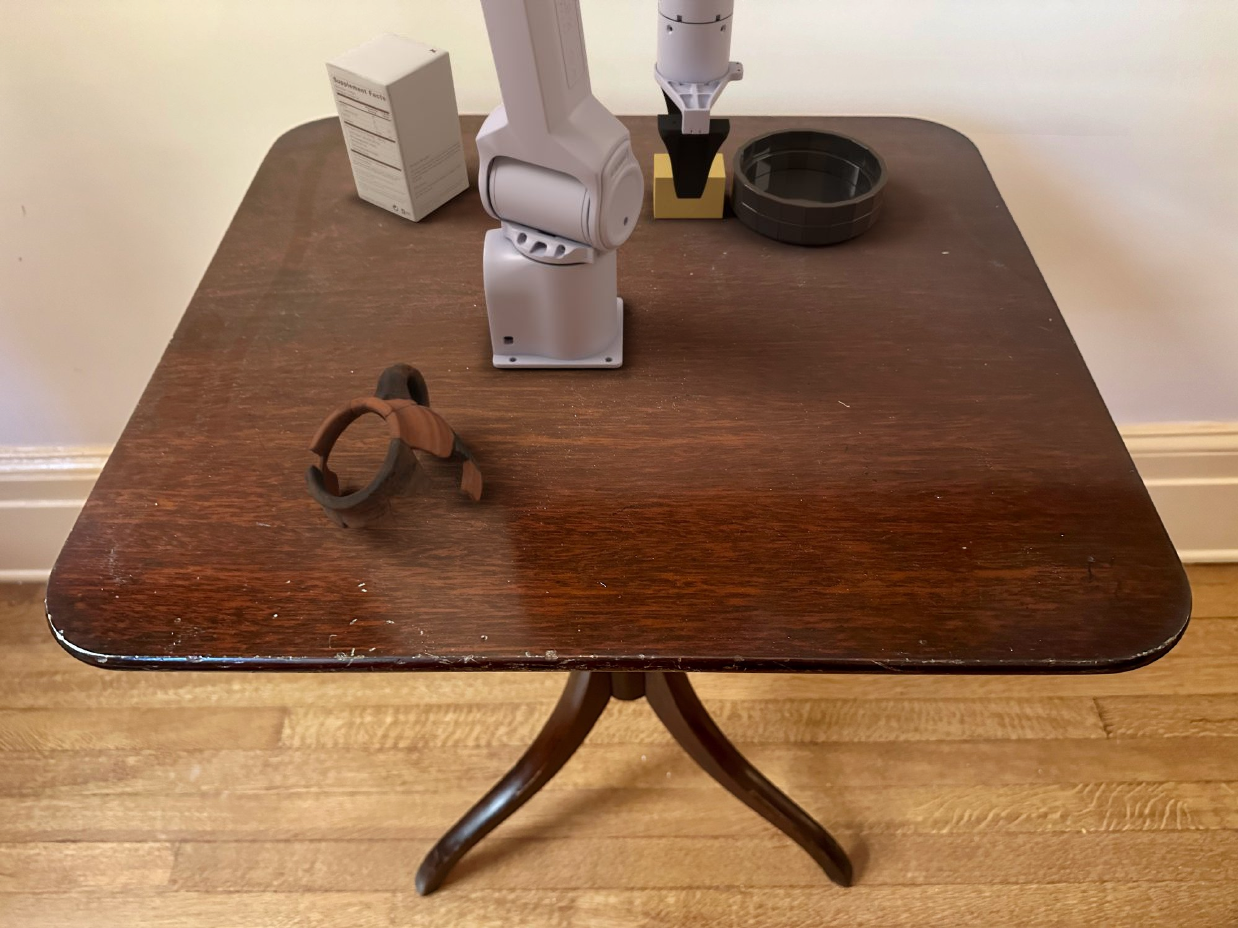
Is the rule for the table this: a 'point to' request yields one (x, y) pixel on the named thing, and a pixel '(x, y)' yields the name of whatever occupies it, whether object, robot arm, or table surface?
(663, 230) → the table surface
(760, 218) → the pan
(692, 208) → the yellow box
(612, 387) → the table surface
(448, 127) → the white packaging box
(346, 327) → the table surface
